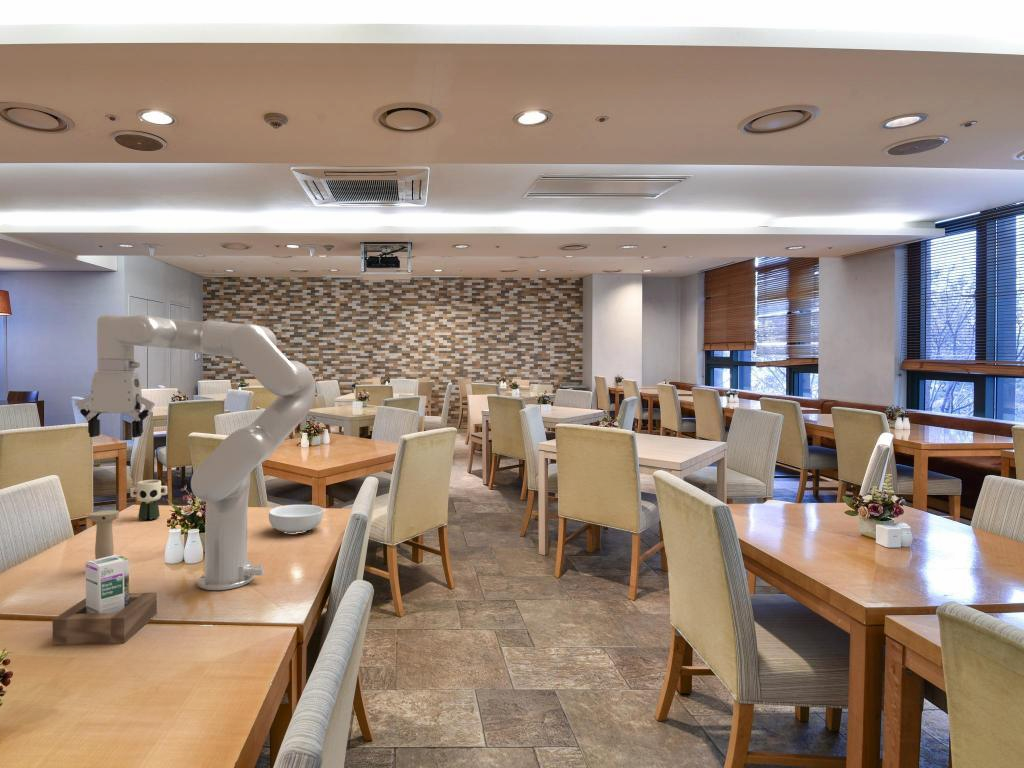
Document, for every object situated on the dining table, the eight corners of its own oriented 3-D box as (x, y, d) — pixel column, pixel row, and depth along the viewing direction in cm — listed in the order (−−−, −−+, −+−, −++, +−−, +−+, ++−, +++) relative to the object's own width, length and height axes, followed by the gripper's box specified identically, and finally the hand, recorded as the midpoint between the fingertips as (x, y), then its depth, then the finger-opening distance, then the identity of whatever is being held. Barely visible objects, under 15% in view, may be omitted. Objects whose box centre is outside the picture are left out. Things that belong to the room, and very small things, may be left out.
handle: (118, 570, 155) (118, 513, 154) (88, 574, 152) (88, 516, 151) (119, 565, 159) (119, 509, 159) (90, 568, 156) (90, 512, 155)
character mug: (129, 523, 199) (129, 484, 199) (131, 518, 205) (131, 480, 205) (166, 520, 204) (166, 482, 203) (168, 515, 210) (168, 478, 210)
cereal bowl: (312, 539, 186) (312, 517, 186) (259, 538, 186) (259, 515, 186) (329, 524, 203) (330, 504, 203) (281, 523, 203) (281, 503, 203)
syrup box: (98, 638, 118) (98, 565, 117) (85, 630, 121) (85, 560, 121) (129, 627, 123) (130, 558, 122) (115, 620, 126) (115, 552, 125)
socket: (156, 615, 129) (156, 592, 129) (124, 643, 116) (124, 617, 116) (92, 616, 128) (92, 593, 127) (52, 645, 115) (52, 619, 114)
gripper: (160, 367, 149) (160, 435, 150) (87, 365, 147) (87, 434, 148) (145, 367, 142) (145, 438, 142) (67, 365, 140) (67, 438, 140)
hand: (115, 436), depth 145 cm, fingers open, 9 cm apart
